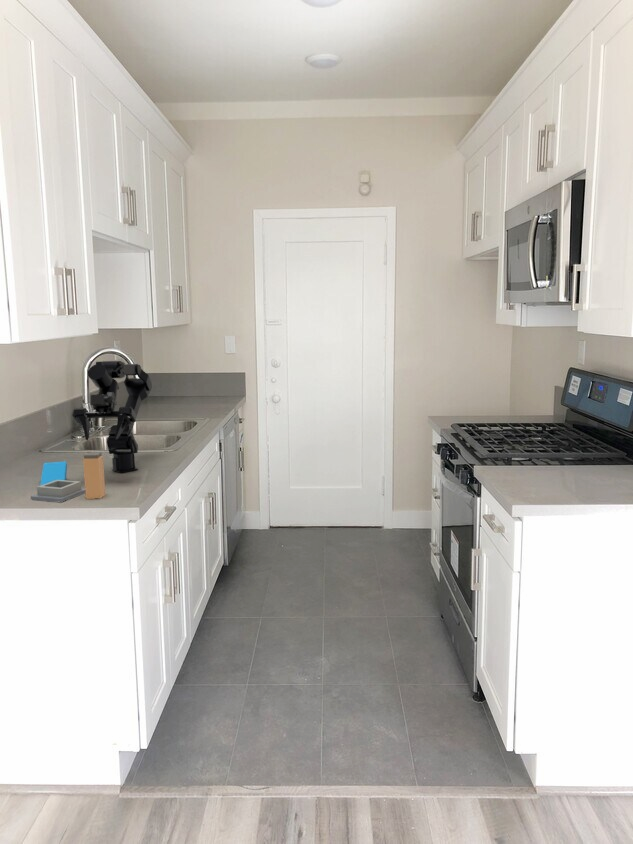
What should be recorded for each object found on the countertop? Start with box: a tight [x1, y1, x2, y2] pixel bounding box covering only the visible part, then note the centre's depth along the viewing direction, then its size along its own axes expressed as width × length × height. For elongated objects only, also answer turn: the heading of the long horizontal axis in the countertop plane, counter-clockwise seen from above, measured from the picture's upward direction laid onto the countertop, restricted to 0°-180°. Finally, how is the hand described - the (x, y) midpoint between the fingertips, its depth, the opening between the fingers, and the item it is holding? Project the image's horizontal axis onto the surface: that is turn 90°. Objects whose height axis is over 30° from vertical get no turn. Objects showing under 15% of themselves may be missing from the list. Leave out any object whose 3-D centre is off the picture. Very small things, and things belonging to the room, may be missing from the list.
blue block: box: [39, 461, 68, 486], centre depth 220 cm, size 7×7×18 cm
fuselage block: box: [82, 451, 106, 500], centre depth 202 cm, size 4×4×13 cm
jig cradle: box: [30, 479, 86, 503], centre depth 204 cm, size 12×11×4 cm
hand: (101, 439), depth 213 cm, fingers open, 9 cm apart
